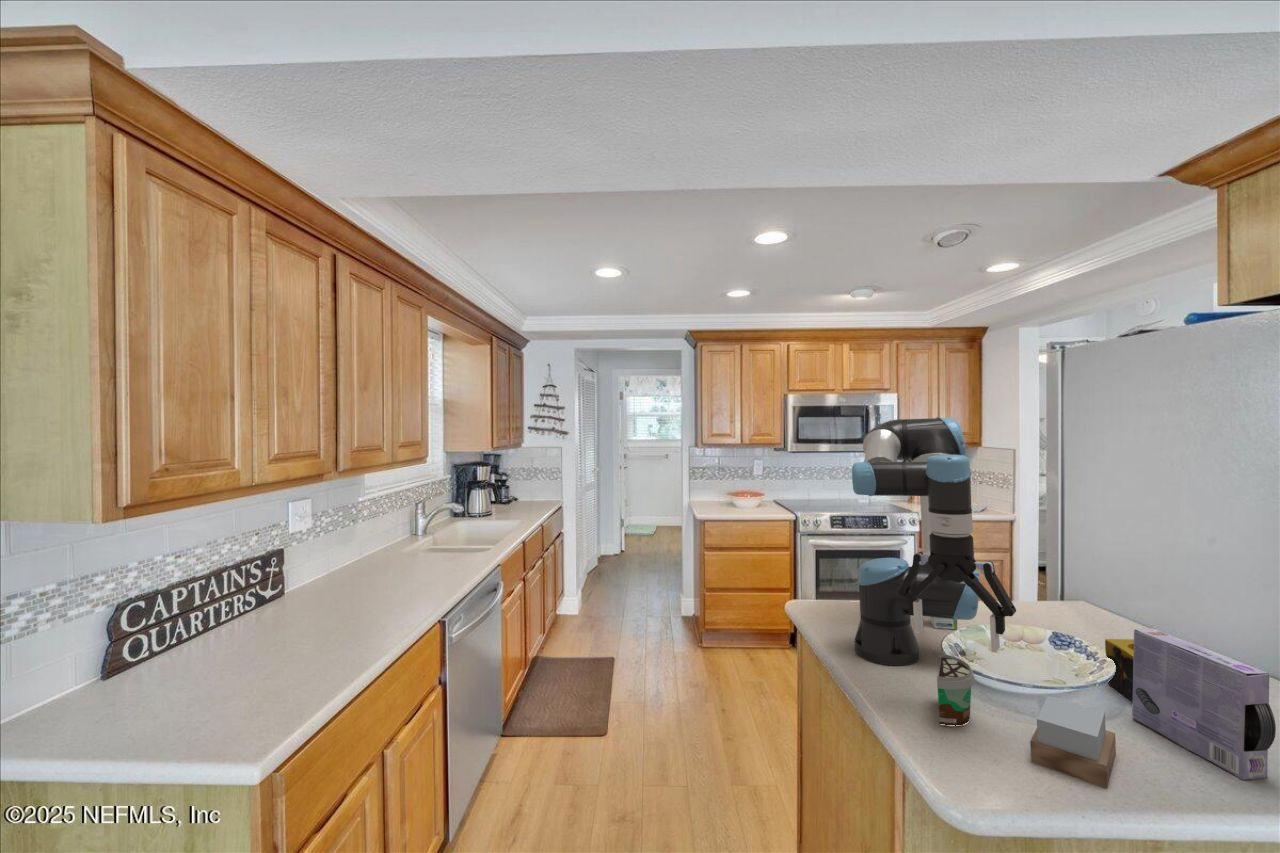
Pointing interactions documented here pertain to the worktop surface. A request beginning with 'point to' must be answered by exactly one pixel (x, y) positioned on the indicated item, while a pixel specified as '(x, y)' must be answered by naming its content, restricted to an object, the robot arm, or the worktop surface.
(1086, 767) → the walnut base block
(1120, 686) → the yellow black cube
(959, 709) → the food container
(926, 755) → the worktop surface
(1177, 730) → the cake pan box
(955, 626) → the syrup box
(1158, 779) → the worktop surface
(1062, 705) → the slate top block
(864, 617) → the robot arm
